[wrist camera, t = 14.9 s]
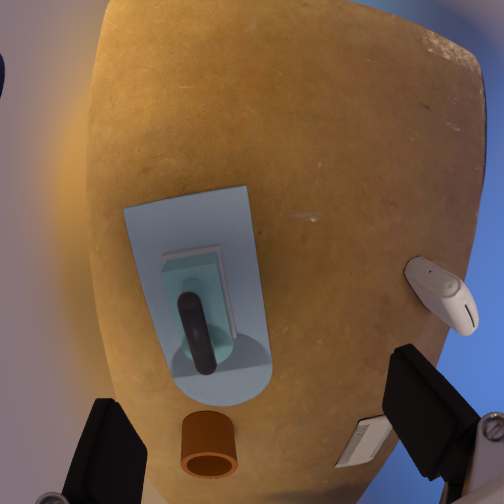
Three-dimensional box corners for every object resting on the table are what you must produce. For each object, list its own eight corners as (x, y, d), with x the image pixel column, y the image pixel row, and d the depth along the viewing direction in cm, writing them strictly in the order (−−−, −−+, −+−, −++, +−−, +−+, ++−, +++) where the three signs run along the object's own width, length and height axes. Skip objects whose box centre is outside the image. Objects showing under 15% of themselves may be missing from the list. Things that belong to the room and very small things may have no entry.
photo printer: (398, 270, 40) (450, 306, 28) (417, 250, 40) (472, 280, 28) (424, 309, 43) (469, 347, 31) (441, 291, 43) (488, 325, 31)
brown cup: (184, 448, 47) (183, 485, 38) (180, 409, 43) (177, 450, 35) (231, 449, 48) (235, 487, 39) (235, 411, 45) (239, 452, 36)
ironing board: (187, 388, 42) (186, 410, 37) (135, 202, 34) (122, 208, 29) (271, 375, 43) (277, 397, 38) (242, 182, 34) (246, 185, 30)
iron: (163, 253, 31) (144, 288, 22) (219, 243, 31) (220, 275, 22) (188, 344, 34) (182, 397, 25) (237, 337, 34) (244, 389, 26)
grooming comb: (359, 419, 49) (361, 421, 48) (400, 410, 50) (401, 413, 50) (333, 467, 54) (334, 469, 53) (370, 459, 56) (371, 461, 55)
